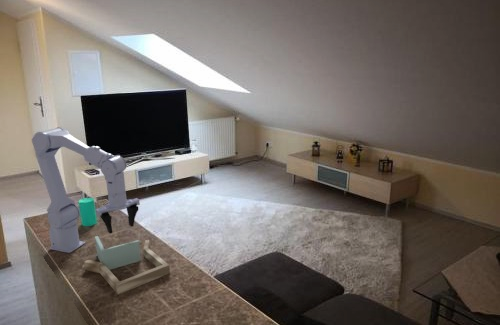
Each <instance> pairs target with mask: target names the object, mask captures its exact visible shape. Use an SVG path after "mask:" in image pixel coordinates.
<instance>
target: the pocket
mask: <svg viewBox="0 0 500 325" xmlns="http://www.w3.org/2000/svg"><path fill="white" fill-rule="evenodd" d="M150 243H151V242H150V239H146V240H144V245H143V255H144V258H146V259H147V260H148V261H149V262H150V263H151V264H152V265H154V268H151V269H148V270H146V271H143V272H140V273H138V274H136V275H133V276H131V277H129V278H128V277H127V278H126V279H123V280H119V279H118V278H117V277H116V276H115V275H114V273H113V272H112V271H111V270H109V269H108V268H107V267H106V266H105V264H104V263H101V262H100V261H97V260H91V259H87V260H85V261H84V268H85V271H89V272H92V273H93V272H94V273H98V274H99V275H101V276H102V278H104V280H105V281H106V282H107V283H108V284H109V286H110V287H111V288H112V289H113V291H114V292H115V293H116V294H117V295H121V294H123V293H126V292H128V291H130V290H133V289H135V288H138V287H141V286H143V285H145V284H148V283H149V282H152V281H156V280H157V279H159V278H162V277H164V276H166V275H169V274H171V272H170V271H171V270H170V264H169V263H168V262H166V261H165V260H164V259H163V258H161V257H160V256H159V255H158V254H156V253H155V252H154V251H153V250H151V244H150Z"/></svg>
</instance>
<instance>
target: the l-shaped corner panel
mask: <svg viewBox="0 0 500 325" xmlns="http://www.w3.org/2000/svg"><path fill="white" fill-rule="evenodd" d="M94 241H95V248H96V254H97V258H98V260H99V262H101V263H104V264H105V266H106V267H107V268H108V269H109V270H110V271H111V270H114V269H117V268H120V267H124V266H127V265H131V264H135V263H138V262H141V261H142V257H141V249H140V248H141V247H140V241H139V240H138V239H136V240H133V241H130V242H127V243H121V244H119V245H118V244H117V245H114V246H111V247H107V248H105V247H104V245H103V244H102V240H101V239H100V237H99V236H98V235H96V236H94Z"/></svg>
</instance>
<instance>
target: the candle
mask: <svg viewBox="0 0 500 325" xmlns="http://www.w3.org/2000/svg"><path fill="white" fill-rule="evenodd" d="M95 204H96V203H95V199H94V198H93V197H84V198H81V199H79V200H78V208H79V210H80V216H79V217H80V220H81V225H82V226H83V227H91V226H93V225H94V226H95V225H96V224H97V223H98V218H97V215H96V206H95Z"/></svg>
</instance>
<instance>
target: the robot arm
mask: <svg viewBox="0 0 500 325" xmlns="http://www.w3.org/2000/svg"><path fill="white" fill-rule="evenodd" d="M31 143H32V146H33V149H34V152H35V157H36V160H37V163H38V165H39V168H40V169H39V170H40V171H41V176H42V177H43V181H44V184H45V187H46V190H47V194H48V196H49V198H50V203H49V205H48V207H47V209H46V212H47V222H48V223H49V225H50V227H49V231H48V235H49V240H50V244H51V245H50V246H51V247H49V249H50V250H53V251H57V252H62V253H63V252H64V253H68V254H70V253H72V252H74V251H75V250H76V249H79V248H80V247H81V246H84V245H85V244H86V241H83V240H80V236H79V231H78V230H79V229H78V223H77V222H78V221H79V217H81V216H80V209H79V206H78V205H77V203H76V202H75V200H74V199H73V198H70V197H68V193H67V191H66V187H65V185H64V182H63V178H62V176H61V172H60V169H59V167H58V162H57V159H56V157H55V155H56V154H57V152H58V151H59V150H60V149H61V148H66V149H68V150H70V151H73V152H75V153H77V154H79V155H82V156H83V158H84V160H85V161H86V162H88V163H89V164H90V165H93V166H94V167H96V168H98V169H100V171H101V174H103V176H104V180H105V181H106V189H107V190H106V191H107V198H108V204H106V205H104V206H101V207H99V208H98V207H97V208H95V211H96V216H97V217H100V219H101V220H102V221H103V223H104V224H105V227H106V229H107V232H108V234H113V226H112V218H113V217H112V216H111V215H110V213H112V212H115V211H119V210H121V211H123V210H126V212H127V217H128V220H127V221H128V225H129V226H130V227H131V228H132V227H133V228H134V225H135V220H136V217H137V213H138V211H139V205H140V203H141V202H140V199H139V198H137V197H136V198H131V199H127V192H126V182H125V173H124V171H125V170H126V168H127V162H126V159H125V158H124V157H122V156H121V155H120V154H116V155H113V154H112V153H109V152H106V151H105V150H103V149H101V147H100V146H98V145H96V146H95V145H92V146H88V144H86V143H84V142H82V141H81V140H79V139H78V138H76V137H74V136H73V135H72V134H70V131H69V130H67V129H64V128H63V127H61V126H58V127H55V128H52V129H48V130H46V129H45V130H43V131H37V132H36V133H35V134H34V135H33V136H32V138H31Z"/></svg>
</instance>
